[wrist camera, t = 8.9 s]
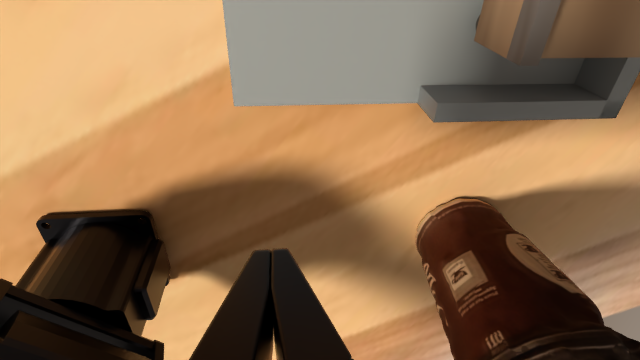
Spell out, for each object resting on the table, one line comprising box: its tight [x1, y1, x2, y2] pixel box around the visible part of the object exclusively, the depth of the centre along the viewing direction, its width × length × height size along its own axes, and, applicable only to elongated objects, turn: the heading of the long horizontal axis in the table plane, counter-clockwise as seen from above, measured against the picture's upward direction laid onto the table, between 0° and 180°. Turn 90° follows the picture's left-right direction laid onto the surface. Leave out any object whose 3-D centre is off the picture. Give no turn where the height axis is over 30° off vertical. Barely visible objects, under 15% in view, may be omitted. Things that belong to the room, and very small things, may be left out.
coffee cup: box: [416, 198, 640, 360], centre depth 22 cm, size 9×8×13 cm
